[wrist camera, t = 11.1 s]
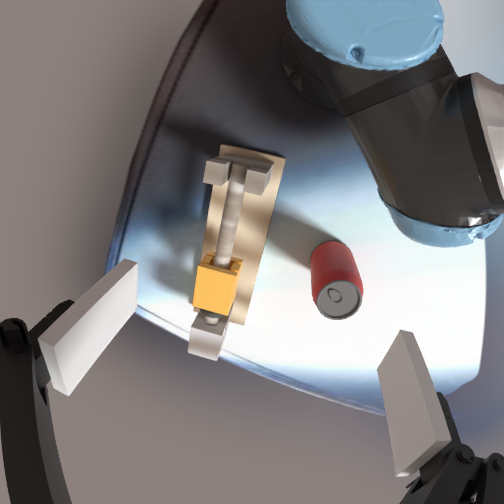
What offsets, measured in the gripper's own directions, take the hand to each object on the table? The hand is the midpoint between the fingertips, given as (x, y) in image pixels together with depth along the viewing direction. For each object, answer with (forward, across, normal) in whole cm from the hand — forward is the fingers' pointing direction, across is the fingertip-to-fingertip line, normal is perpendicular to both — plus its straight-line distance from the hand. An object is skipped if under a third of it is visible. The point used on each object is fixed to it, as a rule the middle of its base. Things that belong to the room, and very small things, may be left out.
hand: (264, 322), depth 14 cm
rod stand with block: (+32, -6, -10) cm, 34 cm away
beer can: (+32, +9, -9) cm, 34 cm away
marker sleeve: (+25, -6, -12) cm, 29 cm away
